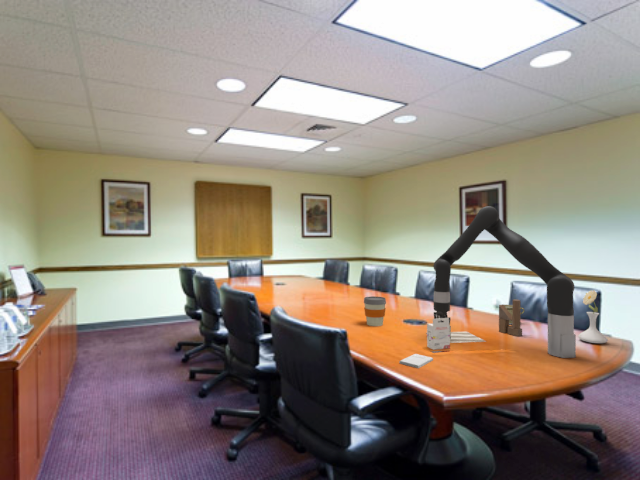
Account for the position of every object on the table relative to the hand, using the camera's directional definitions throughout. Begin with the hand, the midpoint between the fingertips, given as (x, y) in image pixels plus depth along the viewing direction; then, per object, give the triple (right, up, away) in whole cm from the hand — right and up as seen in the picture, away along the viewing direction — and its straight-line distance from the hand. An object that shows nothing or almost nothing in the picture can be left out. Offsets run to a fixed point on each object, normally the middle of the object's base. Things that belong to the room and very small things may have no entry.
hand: (441, 335), depth 177 cm
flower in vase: (+70, -2, -4) cm, 70 cm away
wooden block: (+39, -2, +12) cm, 41 cm away
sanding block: (0, -1, 0) cm, 1 cm away
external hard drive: (-20, -3, -30) cm, 37 cm away
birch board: (+6, -2, 0) cm, 7 cm away
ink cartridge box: (-7, -3, -16) cm, 18 cm away
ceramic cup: (+52, -2, +35) cm, 62 cm away
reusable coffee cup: (-27, -2, +33) cm, 43 cm away
